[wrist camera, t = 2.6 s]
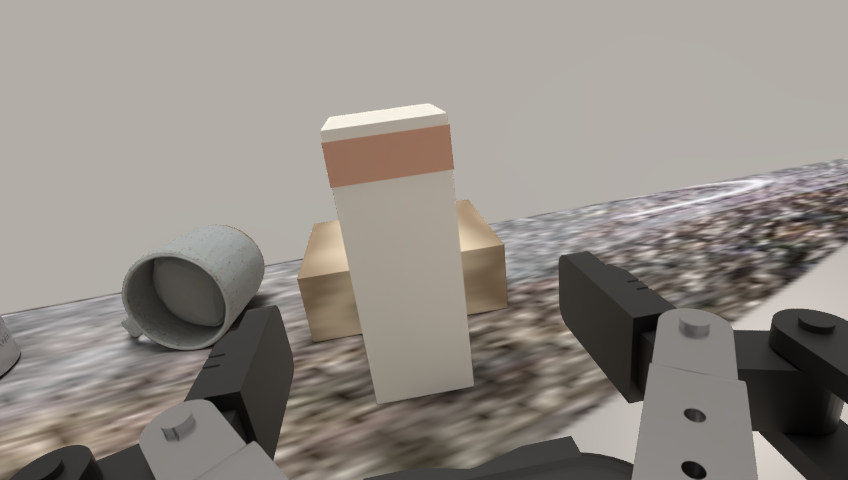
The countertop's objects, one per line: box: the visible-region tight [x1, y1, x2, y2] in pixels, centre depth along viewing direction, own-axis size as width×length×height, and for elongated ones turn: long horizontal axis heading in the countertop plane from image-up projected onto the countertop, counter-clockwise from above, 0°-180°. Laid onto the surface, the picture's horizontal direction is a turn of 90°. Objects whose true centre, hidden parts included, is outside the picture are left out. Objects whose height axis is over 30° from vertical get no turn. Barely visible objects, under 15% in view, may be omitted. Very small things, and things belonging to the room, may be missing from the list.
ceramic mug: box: [122, 225, 264, 350], centre depth 34 cm, size 11×8×8 cm
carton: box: [320, 103, 474, 405], centre depth 24 cm, size 6×6×15 cm
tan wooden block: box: [297, 200, 508, 342], centre depth 35 cm, size 14×11×5 cm
